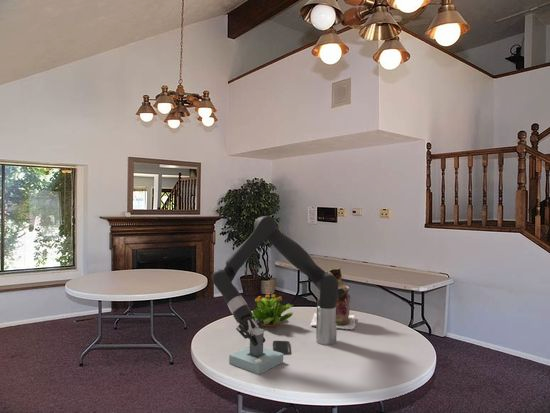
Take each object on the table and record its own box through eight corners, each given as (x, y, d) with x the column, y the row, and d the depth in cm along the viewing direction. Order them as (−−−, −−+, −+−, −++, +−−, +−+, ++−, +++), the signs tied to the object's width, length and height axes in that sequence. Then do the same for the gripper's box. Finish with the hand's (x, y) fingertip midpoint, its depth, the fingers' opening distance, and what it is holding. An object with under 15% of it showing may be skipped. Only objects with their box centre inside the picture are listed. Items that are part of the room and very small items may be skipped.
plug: (255, 350, 162) (256, 327, 162) (263, 353, 159) (263, 329, 159) (249, 353, 159) (250, 329, 159) (256, 356, 156) (257, 331, 156)
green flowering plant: (267, 315, 229) (268, 286, 229) (301, 323, 215) (302, 292, 216) (240, 325, 209) (241, 293, 209) (275, 334, 195) (276, 300, 195)
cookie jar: (314, 315, 233) (315, 263, 234) (355, 318, 229) (356, 265, 229) (309, 327, 209) (311, 269, 209) (355, 331, 204) (357, 271, 205)
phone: (289, 341, 184) (290, 352, 169) (289, 343, 184) (290, 355, 169) (272, 340, 184) (272, 352, 169) (272, 342, 184) (272, 354, 169)
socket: (254, 352, 170) (254, 343, 170) (283, 361, 160) (283, 352, 160) (229, 363, 157) (229, 353, 157) (258, 374, 148) (259, 363, 148)
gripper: (232, 307, 158) (254, 343, 151) (255, 301, 169) (276, 334, 162) (223, 317, 161) (243, 353, 154) (245, 310, 172) (265, 344, 165)
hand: (260, 343), depth 158 cm, fingers closed on plug, 4 cm apart
